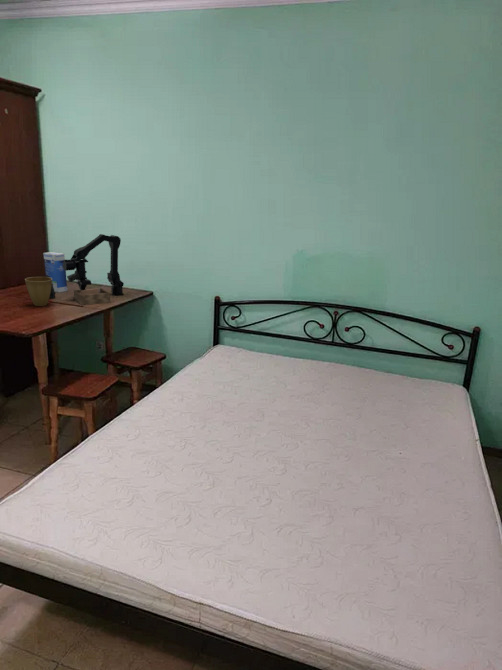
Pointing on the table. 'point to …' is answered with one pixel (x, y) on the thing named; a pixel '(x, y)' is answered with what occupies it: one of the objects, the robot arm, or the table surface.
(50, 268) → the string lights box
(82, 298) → the crate
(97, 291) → the door
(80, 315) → the table surface
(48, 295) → the plant pot
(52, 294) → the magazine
